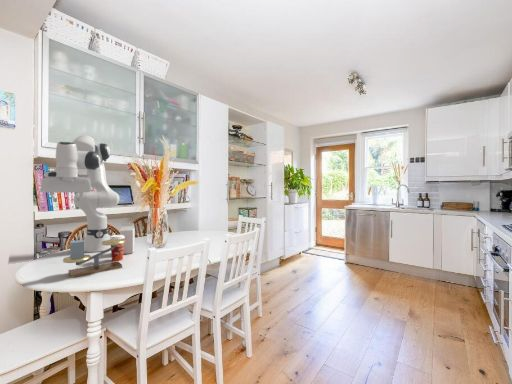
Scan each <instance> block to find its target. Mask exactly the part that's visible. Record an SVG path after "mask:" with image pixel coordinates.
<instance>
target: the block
mask: <svg viewBox="0 0 512 384" xmlns="http://www.w3.org/2000/svg"><path fill="white" fill-rule="evenodd" d="M83 240H84V239H79V240H78V239H77V240H70V241H69V256H70V258H71V260H74V259H81V258H84V255H85V252H84V241H83Z"/></svg>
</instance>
